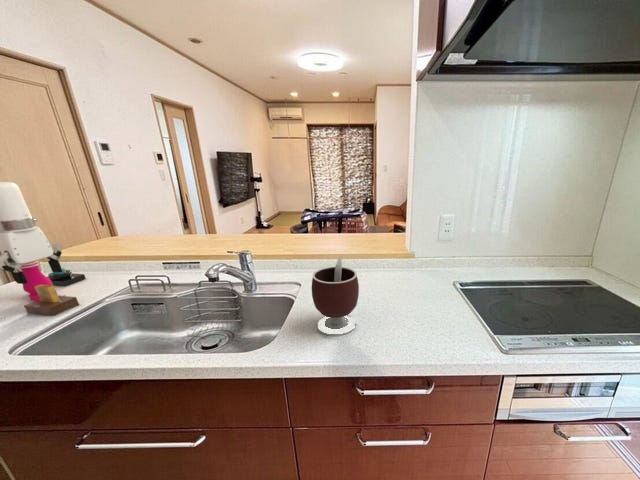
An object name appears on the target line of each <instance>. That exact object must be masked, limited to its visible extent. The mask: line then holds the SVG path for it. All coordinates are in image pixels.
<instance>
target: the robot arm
mask: <svg viewBox="0 0 640 480" xmlns="http://www.w3.org/2000/svg"><path fill="white" fill-rule="evenodd" d="M36 223H39V220H38V218H36V217H33V216H32V214H31V212H30V209H29V207H28V205H27V202H26V201H25V198H24V196H23V194H22V191H21V189H20V187H19V185H18V184H16V183H14V182H13V181H12V182H11V181H0V253H1V254H0V270H2V271H5V272H7V273H10V274H11V277H12V278H13V280H14V282H16V283H17V284H19V285H23V284H27V283H28V281H27V279H26V277H25V275H24V273H23V272H22V270H21V266H22V264H26V263H30V262H33V261H40V260H44V259H47V264H48V265H49V267H50V270H51V273H52V272H62V269H61V268H62V266H61V264H60V260H61V256H62V251H63V250H62V249H63V245H62V244H56V243H52V242H51V243H50V242H49V240H48V238H47V237H46V234H45V233H44V232H43V230H42V229H41V228H40V227H39V226H37V225H36ZM5 263H6V264H5Z"/></svg>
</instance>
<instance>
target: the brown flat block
mask: <svg viewBox="0 0 640 480" xmlns="http://www.w3.org/2000/svg"><path fill="white" fill-rule="evenodd" d="M58 297H59V299H60V301H57V302H55V303H52V302H41V300H37V301H33V302H30V303H27V304H24V305H23V307H24V308H25V311H26V313H27V314H28V315H39V316H50V317H54V316H57V315H59V314H62V313H63V312H66V311H68V310H70V309H73V308H75V307H77V306H80V303H79V301H78V297H76V296H68V295H67V294H64V295H58Z"/></svg>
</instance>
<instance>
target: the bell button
mask: <svg viewBox="0 0 640 480" xmlns="http://www.w3.org/2000/svg"><path fill="white" fill-rule="evenodd" d="M61 269H62V272H53V274H54V275H58V274H63V273H66V271H65V270H66V269H65V268H64V267H61Z"/></svg>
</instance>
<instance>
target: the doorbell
mask: <svg viewBox="0 0 640 480" xmlns="http://www.w3.org/2000/svg"><path fill="white" fill-rule="evenodd" d="M65 271H66V273H63V274H58V275H54V274H53V272H52V271H51V272H49V273H48V276H46V277H47V278H49V279H50V280H51V282H52V284H53V286H54V287H63V288H64V287H68V286H71V285H73V284H77V283H79V282H82V281H84V280H86V279H87V278H86V276H85V274H84V273H72V270H71V269H65Z"/></svg>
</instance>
